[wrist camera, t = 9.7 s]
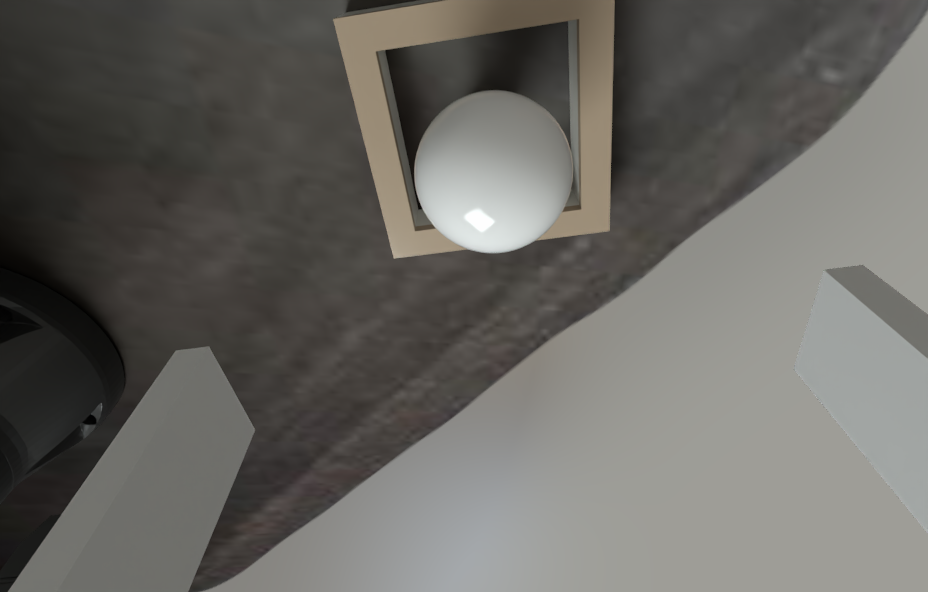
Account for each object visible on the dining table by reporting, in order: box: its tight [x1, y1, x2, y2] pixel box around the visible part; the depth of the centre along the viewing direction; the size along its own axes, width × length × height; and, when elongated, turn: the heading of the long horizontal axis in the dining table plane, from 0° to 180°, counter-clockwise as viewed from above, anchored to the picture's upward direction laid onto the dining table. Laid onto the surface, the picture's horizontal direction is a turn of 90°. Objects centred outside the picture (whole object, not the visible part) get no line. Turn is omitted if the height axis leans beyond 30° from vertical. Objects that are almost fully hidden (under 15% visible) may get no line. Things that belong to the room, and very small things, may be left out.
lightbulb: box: [414, 90, 573, 253], centre depth 22 cm, size 6×6×11 cm
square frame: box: [333, 0, 615, 258], centre depth 26 cm, size 12×12×3 cm
